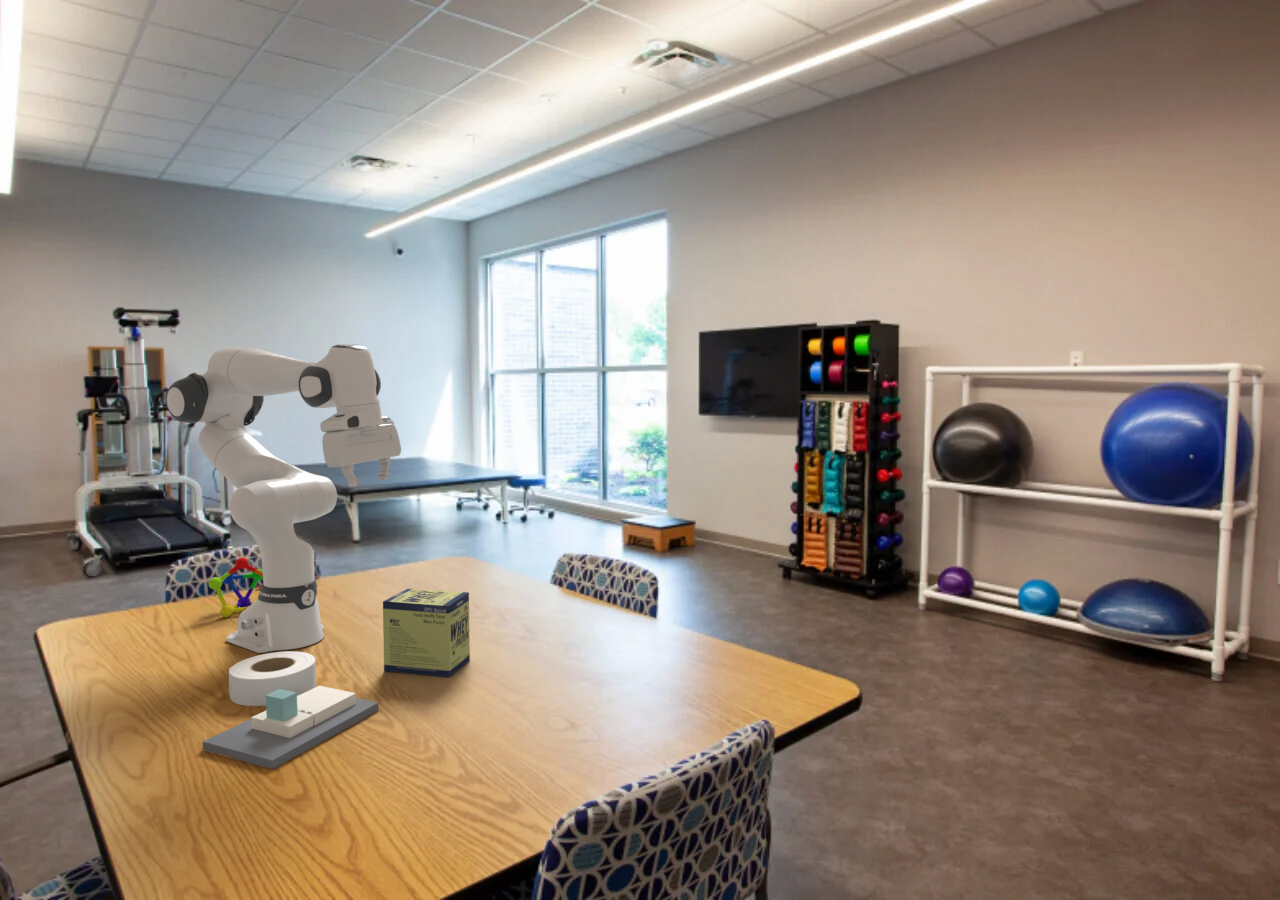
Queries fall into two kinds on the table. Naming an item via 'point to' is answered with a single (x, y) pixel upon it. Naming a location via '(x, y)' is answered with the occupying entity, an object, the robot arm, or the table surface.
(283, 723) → the cube on white base
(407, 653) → the protein box
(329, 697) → the pad
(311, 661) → the roll of tape
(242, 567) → the educational toy
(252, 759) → the desk mat
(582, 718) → the table surface
